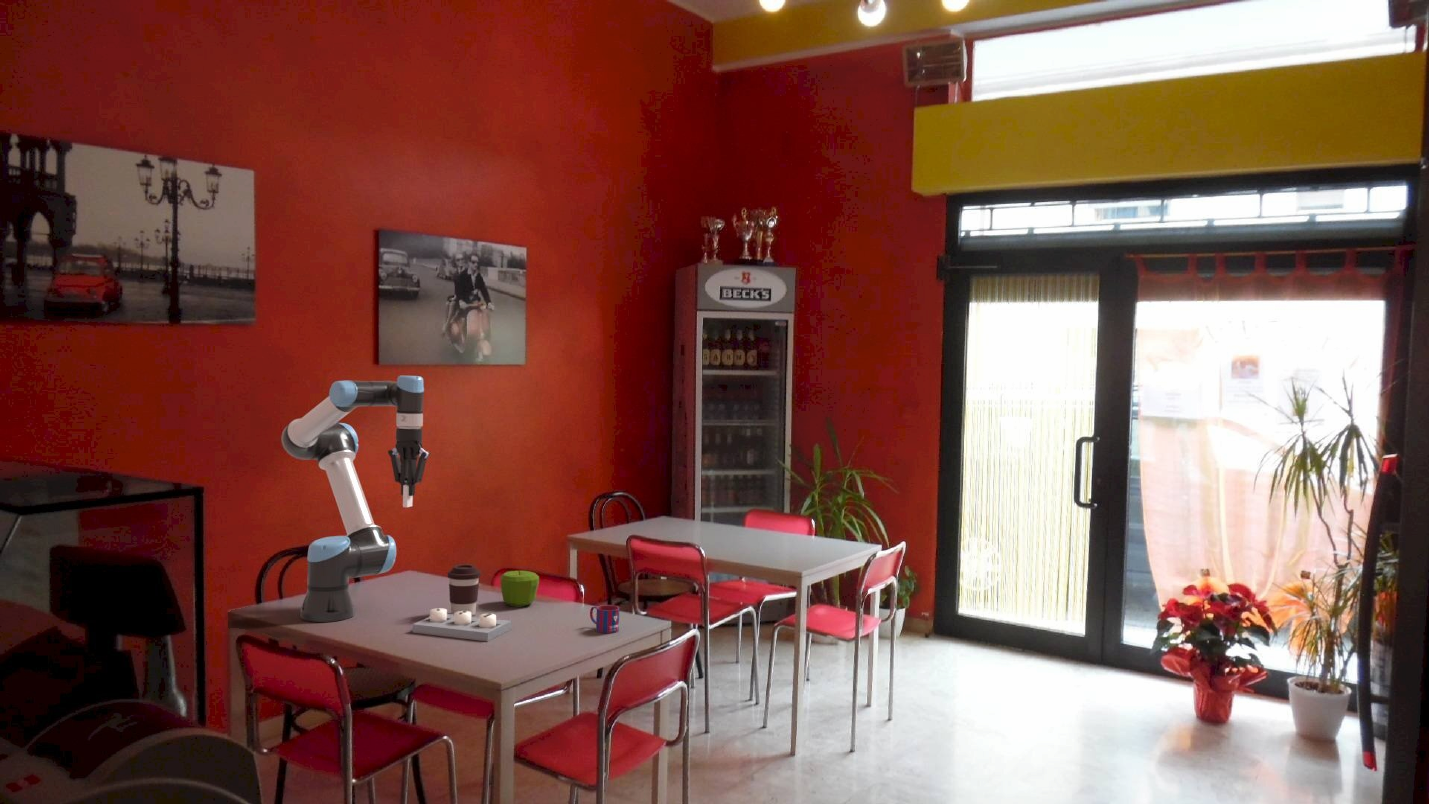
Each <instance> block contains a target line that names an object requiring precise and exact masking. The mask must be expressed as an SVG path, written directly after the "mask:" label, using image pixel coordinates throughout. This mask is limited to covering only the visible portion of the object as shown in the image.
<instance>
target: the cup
mask: <svg viewBox="0 0 1429 804" xmlns="http://www.w3.org/2000/svg"><path fill="white" fill-rule="evenodd" d="M594 609H596V618H594V615H593V614H594V613H593V612H594ZM589 617H590V620H591V622H592V623H593V624H594V625H595V630H596V632H598V633H600V634H615V633H618V632H619V631H620V630H619V629H620V607H619V606H618V605H613V604H602V605H599V606H591V608H590V611H589Z"/></svg>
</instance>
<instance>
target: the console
mask: <svg viewBox="0 0 1429 804" xmlns="http://www.w3.org/2000/svg"><path fill="white" fill-rule="evenodd" d="M510 630H512V620H507V619H506V620H505V619H497V618H496V627H494V628H492V629H489V628H480V627H479V616H471V624H469V625H467V626H463V625H454V614H451V613H447V621H445V622H443V623H437V622H430V616H428V617H426V618H424V619H422V620H420V621H417V622H415V623H413V624H412V633H414V634H421V635H422V634H424V635H430V636H431V635H432V636H440V637H447V638H448V637H449V638H450V637H451V638H455V639H464V640H465V639H467V640H473V641H481V642H489V641H491V640H493V639H495V638H497V637H499V636H501V635H503V634H505V633H507V632H508V631H510Z"/></svg>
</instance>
